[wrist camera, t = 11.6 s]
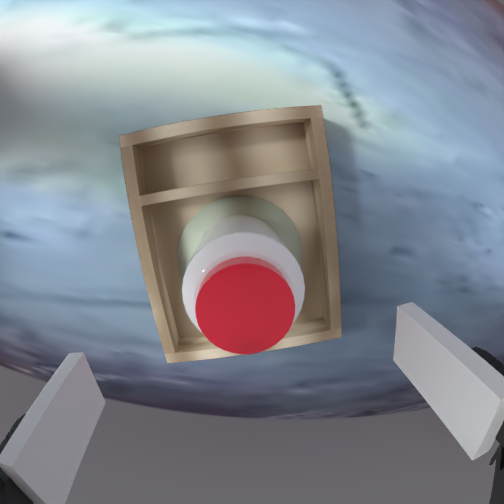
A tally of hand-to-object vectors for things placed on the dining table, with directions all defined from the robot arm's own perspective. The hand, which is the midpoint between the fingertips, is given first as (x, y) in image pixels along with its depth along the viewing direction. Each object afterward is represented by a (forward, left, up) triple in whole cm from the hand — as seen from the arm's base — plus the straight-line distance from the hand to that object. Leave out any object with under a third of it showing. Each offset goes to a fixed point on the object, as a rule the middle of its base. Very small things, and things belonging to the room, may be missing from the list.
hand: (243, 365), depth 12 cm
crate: (0, +2, -17) cm, 17 cm away
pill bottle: (0, 0, -17) cm, 17 cm away
